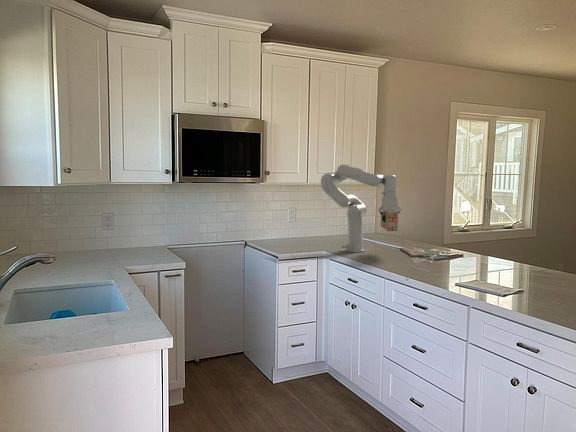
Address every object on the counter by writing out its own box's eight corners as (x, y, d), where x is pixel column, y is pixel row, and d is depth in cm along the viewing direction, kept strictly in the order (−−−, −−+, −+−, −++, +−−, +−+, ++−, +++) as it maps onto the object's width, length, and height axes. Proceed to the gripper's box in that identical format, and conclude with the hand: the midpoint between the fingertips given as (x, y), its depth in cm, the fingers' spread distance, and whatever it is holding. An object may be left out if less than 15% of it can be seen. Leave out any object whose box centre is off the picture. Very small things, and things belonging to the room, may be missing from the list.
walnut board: (412, 257, 290) (412, 255, 290) (400, 249, 317) (400, 247, 317) (431, 256, 291) (431, 254, 291) (417, 249, 317) (417, 247, 317)
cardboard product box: (380, 226, 313) (380, 208, 312) (389, 226, 313) (390, 208, 312) (387, 231, 292) (388, 211, 291) (397, 231, 292) (398, 211, 291)
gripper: (377, 194, 295) (377, 222, 297) (404, 194, 296) (404, 222, 298) (375, 193, 303) (374, 221, 305) (401, 193, 303) (400, 220, 305)
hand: (389, 221), depth 301 cm, fingers closed on cardboard product box, 6 cm apart
